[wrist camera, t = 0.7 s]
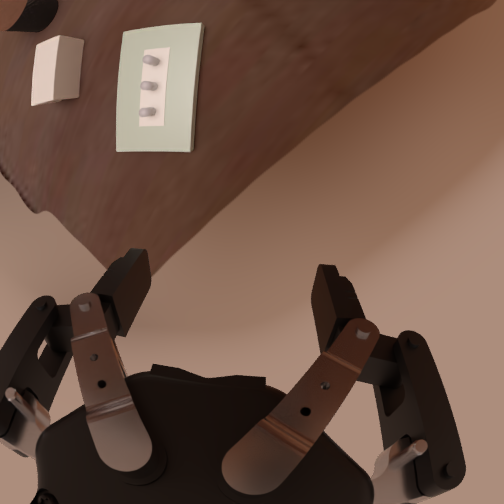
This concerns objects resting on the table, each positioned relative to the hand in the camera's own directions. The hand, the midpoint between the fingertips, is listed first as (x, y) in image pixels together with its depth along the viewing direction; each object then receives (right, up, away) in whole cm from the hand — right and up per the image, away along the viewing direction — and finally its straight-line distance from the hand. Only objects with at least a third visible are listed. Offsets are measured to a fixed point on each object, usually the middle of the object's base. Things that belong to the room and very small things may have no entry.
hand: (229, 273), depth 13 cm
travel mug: (-35, +42, +8) cm, 55 cm away
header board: (-11, +23, +18) cm, 31 cm away
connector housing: (-27, +29, +15) cm, 43 cm away
